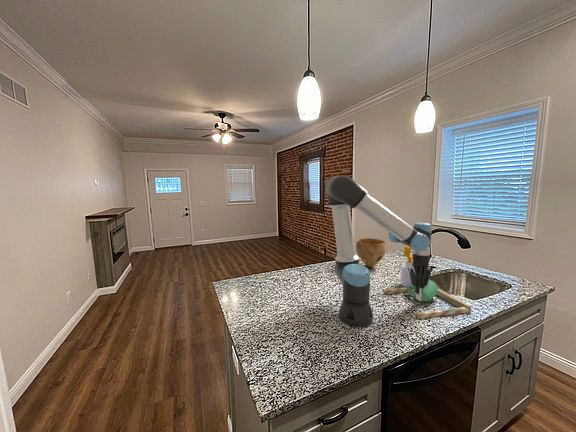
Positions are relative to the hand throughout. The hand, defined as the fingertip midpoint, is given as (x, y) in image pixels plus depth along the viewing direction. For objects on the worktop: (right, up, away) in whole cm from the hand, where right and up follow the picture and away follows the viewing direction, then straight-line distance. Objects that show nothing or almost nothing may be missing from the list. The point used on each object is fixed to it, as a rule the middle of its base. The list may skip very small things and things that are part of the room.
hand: (418, 299), depth 124 cm
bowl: (-6, +5, +56) cm, 56 cm away
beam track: (+4, -2, +2) cm, 5 cm away
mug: (0, +1, +1) cm, 1 cm away
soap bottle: (+6, +1, +22) cm, 23 cm away
